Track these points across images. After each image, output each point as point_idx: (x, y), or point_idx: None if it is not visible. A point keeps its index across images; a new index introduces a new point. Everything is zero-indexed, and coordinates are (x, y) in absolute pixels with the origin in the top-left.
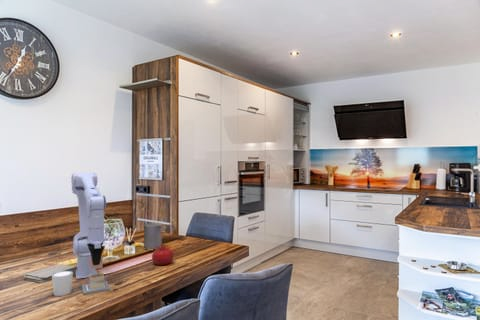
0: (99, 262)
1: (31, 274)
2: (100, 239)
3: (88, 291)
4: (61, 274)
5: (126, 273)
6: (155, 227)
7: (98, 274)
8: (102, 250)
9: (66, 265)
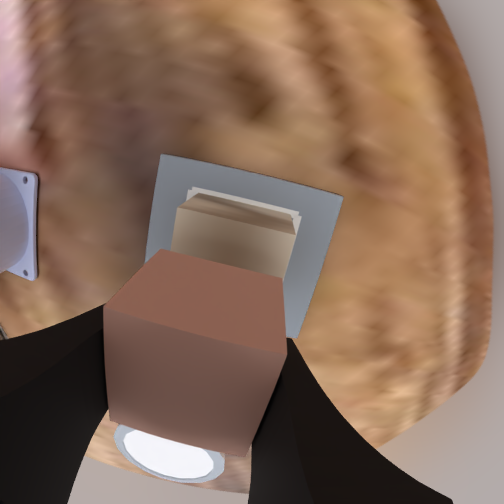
0: (299, 355)
1: None
2: None
3: (291, 312)
4: (173, 460)
5: (102, 11)
6: None
7: (200, 252)
8: (410, 488)
9: None
